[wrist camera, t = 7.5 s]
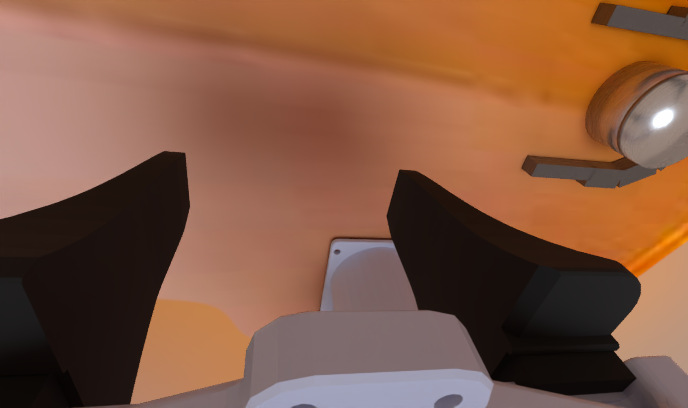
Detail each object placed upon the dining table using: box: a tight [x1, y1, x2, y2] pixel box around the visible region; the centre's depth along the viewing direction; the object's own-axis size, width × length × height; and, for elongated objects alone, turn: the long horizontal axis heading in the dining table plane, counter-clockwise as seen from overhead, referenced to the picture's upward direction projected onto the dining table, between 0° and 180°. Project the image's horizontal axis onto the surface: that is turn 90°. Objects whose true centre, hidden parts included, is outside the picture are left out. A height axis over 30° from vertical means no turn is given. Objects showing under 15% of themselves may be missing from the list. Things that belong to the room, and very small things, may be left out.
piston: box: [585, 61, 688, 168], centre depth 22 cm, size 6×6×4 cm
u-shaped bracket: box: [522, 3, 688, 188], centre depth 23 cm, size 12×12×1 cm
